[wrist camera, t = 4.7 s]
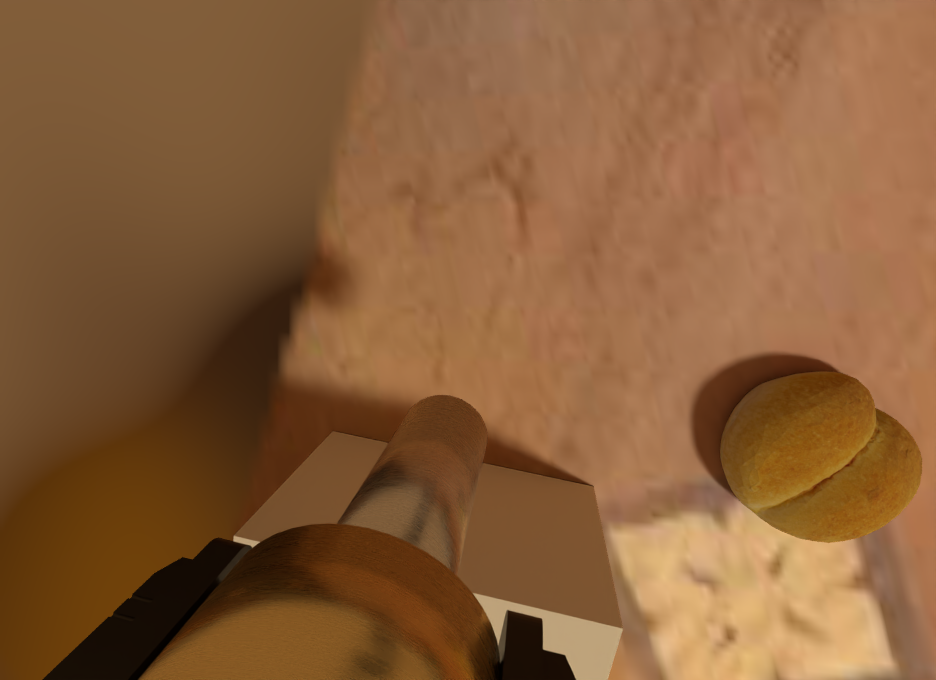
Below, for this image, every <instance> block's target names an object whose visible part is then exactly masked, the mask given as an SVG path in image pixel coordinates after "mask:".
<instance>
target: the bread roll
mask: <svg viewBox="0 0 936 680" xmlns="http://www.w3.org/2000/svg"><path fill="white" fill-rule="evenodd" d="M720 459H721V464H722V467H723V471H724V473H725V476H726V478H727V482H728V484H729V486H730V488H731V490H732V491H733V493H734V494H735V496H736V497H737V498H738V499H739V500H740V501H741V503H743V504H744V505H745V506H746V507H747V508H749V509H750V510H752V511H753V512H754V513H755V514H756V515H757V516H759V517H760V518H761V519H762V520H764V521H765V522H767V523H768V524H769V525H771V526H773V527H774V528H776V529H778V530H780V531H782V532H785V533H787V534H790V535H792V536H795V537H798V538H800V539H805V540H811V541H817V542H827V543H830V542H839V541H846V540H851V539H855V538H859V537H861V536H864V535H867V534H869V533H871V532H873V531H875V530H878V529H879V528H881V527H883V526H884V525H886V524H887V523H889V522H890V521H891V520H892V519H894V518H895V517H896V516H898V515H899V514H900V513H901V511H902V510H903V509H904V508H905V507H906V506H907V505H908V504H909V502H910V501H911V500H912V498H913V497H914V495H915V494H916V492H917V489H918V487H919V485H920V479H921V474H922V458H921V454H920V451H919V448H918V446H917V444H916V442H915V441H914V439H913V437H912V436H911V435H910V433H909V432H908V431H907V430H906V429H905V428H904V427H903V426H902V425H901V424H900V423H899V422H898V421H897V420H895V419H894V418H892V417H891V416H889V415H888V414H886V413H884V412H882V411H880V410H878V409H876V408H875V405H874V401H873V398H872V396H871V394H870V392H869V390H868V389H867V388H866V387H865V386H864V385H863V384H862V383H861V382H859V381H858V380H857V379H855V378H853V377H850V376H848V375H846V374H843V373H838V372H828V371H820V372H807V373H799V374H793V375H789V376H785V377H781V378H777V379H773V380H771V381H768V382H765V383H762V384H760V385H758V386H757V387H755V388H754V389H753V390H751V391H750V392H749V393H747V394H746V395H745V396H744V398H743V399H742V400H741V401H740V402H739V403H738V404H737V405H736V407H735V408H734V410H733V411H732V413H731V415H730V417H729V419H728V421H727V423H726V426H725V429H724V431H723V434H722V439H721V447H720Z"/></svg>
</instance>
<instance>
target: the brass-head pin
mask: <svg viewBox="0 0 936 680" xmlns="http://www.w3.org/2000/svg"><path fill="white" fill-rule="evenodd" d="M486 446H487V429H486V426H485V423H484V421H483V419H482V417H481V416H480V414H479V413H478V412H477V411H476V409H475V408H473V407H472V406H471V405H470V404H468V403H467V402H465V401H463V400H462V399H459V398H457V397H453V396H448V395H435V396H431V397H427V398H425V399H423V400H421V401H419V402H418V403H416V404H415V405H414V406H413V407H412V408H411V409H410V411H409V412H408V413H407V415H406V417H405V418H404V420H403V421H402V423H401V424H400V426H399V428H398V429H397V431H396V432H395V434H394V435H393V437H392V438H391V440H390V442H389V443H388V445H387V446H386V448H385V449H384V451H383V452H382V454H381V456H380V457H379V459H378V460H377V462H376V463H375V465H374V467H373V468H372V470H371V471H370V473H369V474H368V476H367V477H366V479H365V481H364V482H363V484H362V485H361V487H360V488H359V490H358V491H357V493H356V495H355V496H354V498H353V499H352V501H351V502H350V504H349V505H348V507H347V509H346V510H345V512H344V513H343V515H342V516H341V518H340V520H339V521H338V523H337V524H331V523H327V524H311V525H305V526H300V527H295V528H291V529H288V530H285V531H282V532H279V533H276V534H274V535H272V536H270V537H268V538H266V539H264V540H263V541H261V542H260V543H258V544H257V545H255V546H254V547H253V548H251V549H250V550H249V551H248V552H247V553H246V554H245V555H244V556H243V557H242V558H241V559H240V560H239V561H238V562H237V564H236V565H235V566H234V567H233V568H232V569H231V571H230V572H229V573H228V574H227V575H226V576H225V578H224V579H223V580H222V581H221V582H220V584H219V585H218V586H217V587H216V588H215V589H214V591H213V592H212V593H211V594H210V595H209V596H208V598H207V599H206V600H205V601H204V602H203V604H202V605H201V606H200V607H199V608H198V609H197V611H196V612H195V613H194V614H193V615H192V616H191V618H190V619H189V620H188V621H187V622H186V624H185V625H184V626H183V627H182V628H181V629H180V631H179V632H178V633H177V634H176V635H175V636H174V638H173V639H172V640H171V641H170V642H169V643H168V645H167V646H166V647H165V648H164V649H163V651H162V652H161V653H160V654H159V655H158V656H157V658H156V659H155V660H154V661H153V662H152V663H151V665H150V666H149V667H148V668H147V669H146V671H145V672H144V673H143V674H142V675H141V676H140V678H139V679H138V680H499V673H500V653H499V648H498V643H497V639H496V636H495V633H494V630H493V627H492V624H491V622H490V620H489V618H488V617H487V615H486V613H485V611H484V609H483V607H482V606H481V604H480V603H479V601H478V600H477V599H476V597H475V596H474V594H473V593H472V592H471V590H470V589H469V588H468V587H467V586H466V585H465V584H464V583H463V582H462V581H461V579H460V578H459V577H458V576H457V575H458V570H459V566H460V561H461V557H462V553H463V548H464V544H465V539H466V535H467V530H468V526H469V522H470V517H471V513H472V508H473V504H474V499H475V495H476V490H477V486H478V482H479V477H480V473H481V468H482V464H483V459H484V455H485V450H486Z"/></svg>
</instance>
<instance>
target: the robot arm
mask: <svg viewBox="0 0 936 680" xmlns="http://www.w3.org/2000/svg"><path fill="white" fill-rule="evenodd" d="M251 548H252V546H250V545H246V544H242V543H238V542H234V541H230V540H226V539H222V538H216V539H213V540H212V541H211V542H210V543H209V544H208V545H207V546H206V547H205V548H204V549H203V550H202V551H201V552H200V553H199V554H198V555H197V556H196V557H195V558H194V559H193V560H192V559H188V558H183V557H182V558H181V559H179V560H177V561H175V562H173V563H172V564H170V565H168V566H166V567H164V568H163V569H161V570H159V571H157V572H156V573H154V574H153V575H152V576H151V577H150V578H149V579H148V580H147V581H146V582H145V583H144V584H143V585H142V586H141V587H139V588H138V589H137V590H136V591H135V592H134V593H133V595H132V597H131V598H130V599H129V598H128V599H127V600H126V601H125V602H124V603H123V604H122V605H121V606H119V607H118V608H117V609H116V610H115V611H114V613H113V615H112V616H111V617H108V618H107V619H106V620H105V621H104V622H103V623H102V624H100V625H99V626H98V627H97V628H96V629H95V630H94V631H93V632H92V633H91V634H90V635H89V636H88V637H87V638H86V639H85V640H84V641H83V642H82V643H80V644H79V645H78V646H77V647H76V648H75V649H74V650H73V651H72V652H71V653H70V654H69V655H68V656H67V657H66V658H65V659H64V660H63V661H61V662H60V663H59V664H58V665H57V666H56V667H55V668H54V669H53V670H52V671H51V672H50V673H49V674H48V675H47V676H46V677H45V678H44V679H43V680H138V679H139V678H140V676H141V675H142V674H143V673H144V672H145V671H146V669H147V668H148V667H149V666H150V665H151V663H152V662H153V661H154V660H155V659H156V658H157V656H158V655H159V654H160V653H161V652H162V651H163V649H164V648H165V647H166V646H167V645H168V643H169V642H170V641H171V640H172V639H173V638H174V636H175V635H176V634H177V633H178V632H179V631H180V629H181V628H182V627H183V626H184V625H185V624H186V622H187V621H188V620H189V619H190V618H191V616H192V615H193V614H194V613H195V612H196V611H197V609H198V608H199V607H200V606H201V605H202V604H203V602H204V601H205V600H206V599H207V598H208V596H209V595H210V594H211V593H212V592H213V591H214V589H215V588H216V587H217V586H218V585H219V584H220V582H221V581H222V580H223V579H224V578H225V576H226V575H227V574H228V573H229V572H230V571H231V569H232V568H233V567H234V566H235V565H236V564H237V562H238V561H239V560H240V559H241V558H242V557H243V556H244V555H245V554H246V553H247V552H248V551H249V550H250V549H251ZM498 648H499V653H500V673H499V680H576V678H575V676H574V674H573V672H572V669H571V667H570V665H569V663H568V660H567V658H566V656H565V655H563V654H559V653H555V652H551V651H547V650H543V621H542V618H538V617H534V616H530V615H526V614H522V613H518V612H514V611H510V610H507V611H506V614H505V618H504V623H503V627H502V632H501V636H500V640H499V645H498Z"/></svg>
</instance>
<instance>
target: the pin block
mask: <svg viewBox="0 0 936 680" xmlns="http://www.w3.org/2000/svg"><path fill="white" fill-rule="evenodd" d="M387 445H388V443H387V442H382V441H378V440H373V439H368V438H363V437H359V436H354V435H349V434H345V433H340V432H335V431H332V432H331V433H330V434H329V435H328V437H327V438H326V439H325V440H324V441H323V442H322V443H321V444H320V445H319V446H318V447H317V448H316V449H315V450H314V451H313V452H312V453H311V454H310V456H309V457H308V458H307V459H306V460H305V461H304V462H303V463H302V464H301V465H300V466H299V467H298V468H297V469H296V470H295V471H294V472H293V474H292V475H291V476H290V477H289V478H288V479H287V480H286V481H285V482H284V483H283V484H282V485H281V486H280V487H279V488H278V489H277V490H276V491H275V493H274V494H273V495H272V496H271V497H270V498H269V499H268V500H267V501H266V502H265V503H264V504H263V505H262V506H261V507H260V508H259V509H258V511H257V512H256V513H255V514H254V515H253V516H252V517H251V518H250V519H249V520H248V521H247V522H246V523H245V524H244V525H243V526H242V527H241V528H240V530H239V531H238V532H237V533H236V534H235V535H234V542H238V543H242V544H246V545H250V546H252V548H253V547H254V546H255V545H257V544H258V543H260V542H261V541H263V540H264V539H266V538H268V537H270V536H272V535H274V534H276V533H279V532H282V531H285V530H288V529H291V528H295V527H300V526H305V525H311V524H327V523H331V524H337V523H338V521H339V520H340V518H341V516H342V515H343V513H344V512H345V510H346V509H347V507H348V505H349V504H350V502H351V501H352V499H353V498H354V496H355V495H356V493H357V491H358V490H359V488H360V487H361V485H362V484H363V482H364V481H365V479H366V477H367V476H368V474H369V473H370V471H371V470H372V468H373V467H374V465H375V463H376V462H377V460H378V459H379V457H380V456H381V454H382V452H383V451H384V449H385V448H386V446H387ZM457 576H458V577H459V578H460V579H461V581H462V582H463V583H464V584H465V585H466V586H467V587H468V588H469V589H470V590H471V592H472V593H473V594H474V596H475V597H476V599H477V600H478V601H479V603H480V604H481V606H482V607H483V609H484V611H485V613H486V615H487V617H488V618H489V620H490V622H491V624H492V627H493V630H494V633H495V636H496V639H497V643H498V645H499V640H500V636H501V632H502V627H503V623H504V618H505V614H506V611H507V610H510V611H514V612H518V613H522V614H526V615H530V616H534V617H538V618H542V621H543V650H547V651H551V652H555V653H559V654H563V655H565V656H566V658H567V660H568V663H569V665H570V667H571V669H572V672H573V674H574V676H575V678H576V680H607V679H608V676H609V673H610V670H611V666H612V663H613V660H614V657H615V653H616V650H617V647H618V644H619V640H620V637H621V634H622V631H623V626H622V621H621V616H620V612H619V607H618V602H617V597H616V592H615V588H614V583H613V578H612V573H611V568H610V563H609V559H608V554H607V549H606V544H605V539H604V534H603V530H602V525H601V520H600V515H599V510H598V506H597V501H596V496H595V491H594V486H589V485H585V484H580V483H575V482H571V481H566V480H561V479H556V478H552V477H547V476H542V475H538V474H533V473H528V472H523V471H519V470H514V469H509V468H505V467H500V466H495V465H491V464H486V463H483V464H482V468H481V473H480V477H479V482H478V486H477V490H476V495H475V499H474V504H473V508H472V513H471V517H470V522H469V526H468V530H467V535H466V539H465V544H464V548H463V553H462V557H461V561H460V566H459V570H458V575H457Z"/></svg>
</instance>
